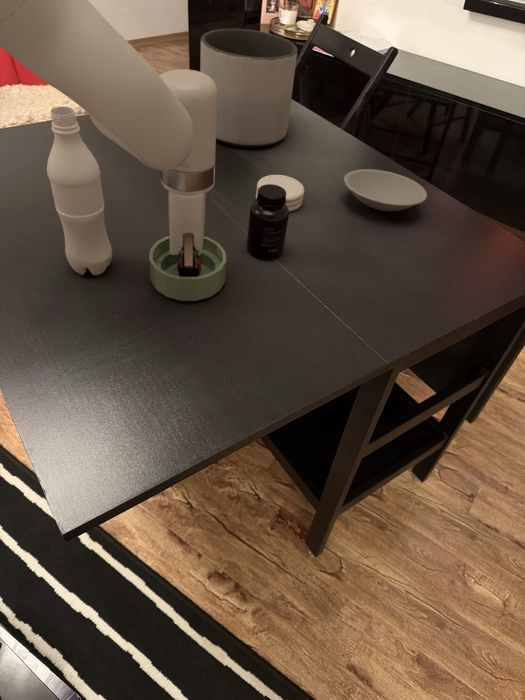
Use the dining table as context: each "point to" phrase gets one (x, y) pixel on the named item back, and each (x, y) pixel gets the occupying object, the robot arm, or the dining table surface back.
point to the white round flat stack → (291, 187)
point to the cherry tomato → (193, 257)
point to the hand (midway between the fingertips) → (189, 275)
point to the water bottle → (78, 195)
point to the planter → (250, 84)
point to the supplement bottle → (268, 223)
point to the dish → (384, 189)
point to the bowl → (187, 287)
